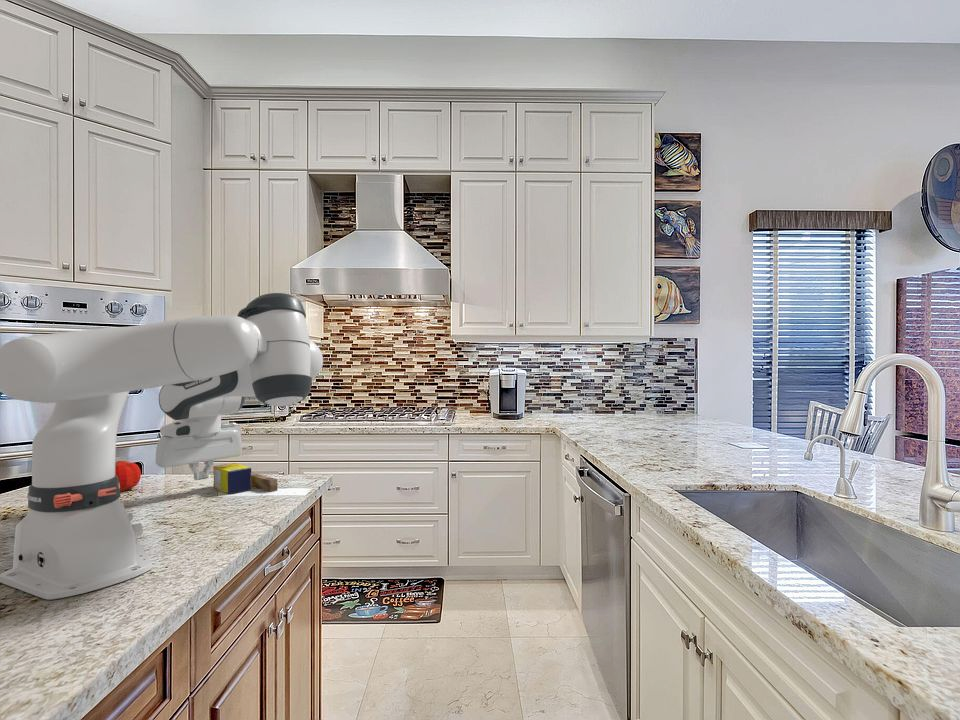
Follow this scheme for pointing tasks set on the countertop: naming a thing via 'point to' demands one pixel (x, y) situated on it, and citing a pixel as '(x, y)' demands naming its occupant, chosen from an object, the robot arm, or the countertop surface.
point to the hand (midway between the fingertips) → (201, 479)
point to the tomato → (127, 474)
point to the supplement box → (232, 478)
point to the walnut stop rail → (263, 482)
